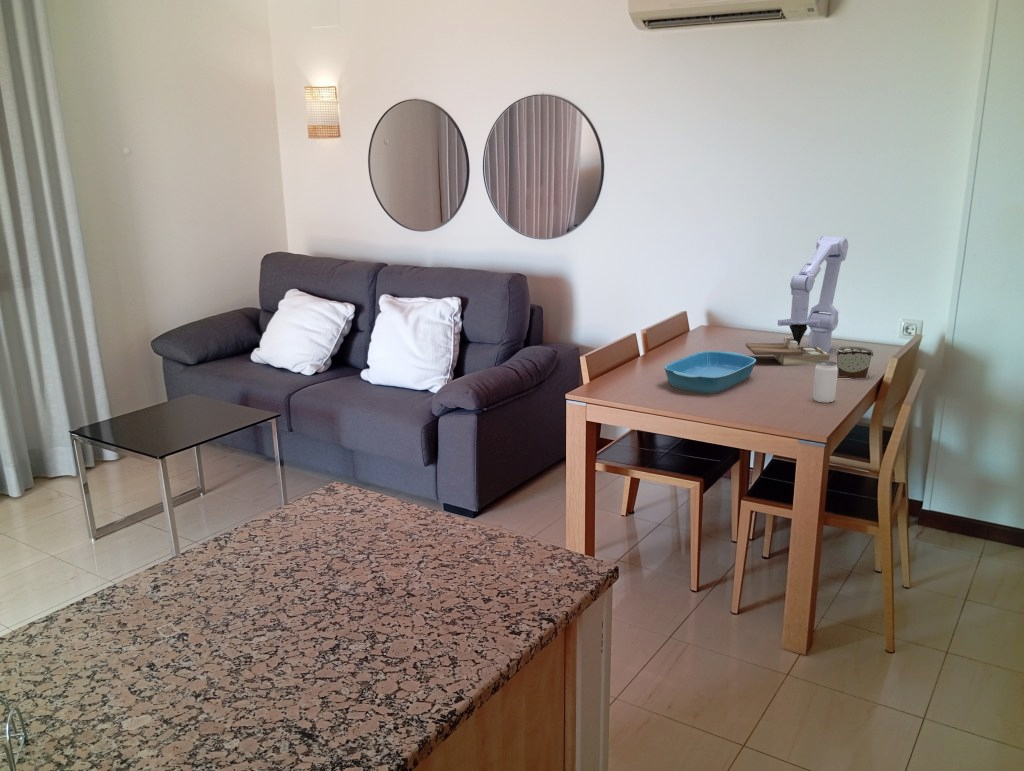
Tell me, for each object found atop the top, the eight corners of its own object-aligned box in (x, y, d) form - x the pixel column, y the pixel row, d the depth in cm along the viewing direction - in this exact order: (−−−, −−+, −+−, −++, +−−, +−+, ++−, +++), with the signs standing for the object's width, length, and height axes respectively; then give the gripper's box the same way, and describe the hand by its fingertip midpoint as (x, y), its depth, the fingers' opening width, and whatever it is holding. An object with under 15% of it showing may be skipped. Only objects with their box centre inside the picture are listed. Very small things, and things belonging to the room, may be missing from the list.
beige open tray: (773, 358, 302) (774, 346, 300) (816, 358, 301) (817, 346, 300) (783, 367, 289) (784, 355, 288) (828, 367, 289) (829, 354, 287)
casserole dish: (713, 400, 252) (714, 379, 250) (652, 388, 267) (653, 367, 265) (764, 376, 279) (766, 356, 277) (706, 366, 293) (707, 347, 291)
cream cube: (802, 357, 300) (802, 347, 299) (811, 357, 300) (812, 347, 299) (805, 359, 296) (806, 350, 295) (815, 359, 296) (815, 350, 295)
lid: (745, 346, 301) (746, 335, 300) (791, 345, 301) (792, 335, 300) (754, 354, 288) (755, 344, 287) (802, 354, 287) (803, 343, 286)
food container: (865, 374, 279) (868, 346, 276) (870, 378, 273) (874, 350, 270) (828, 373, 280) (831, 345, 277) (833, 378, 274) (836, 350, 271)
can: (809, 397, 253) (812, 360, 250) (829, 396, 254) (832, 360, 250) (818, 403, 247) (821, 365, 244) (838, 402, 247) (842, 365, 244)
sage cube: (805, 361, 293) (806, 352, 292) (814, 360, 294) (815, 351, 293) (811, 364, 290) (812, 354, 289) (820, 363, 291) (821, 353, 290)
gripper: (782, 310, 286) (779, 347, 290) (824, 310, 286) (820, 347, 289) (777, 306, 293) (774, 343, 297) (817, 306, 292) (814, 342, 296)
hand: (796, 345), depth 293 cm, fingers closed
